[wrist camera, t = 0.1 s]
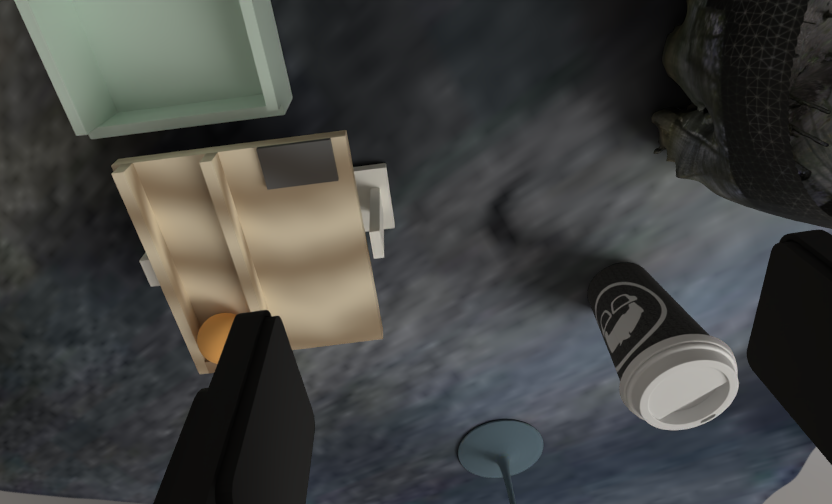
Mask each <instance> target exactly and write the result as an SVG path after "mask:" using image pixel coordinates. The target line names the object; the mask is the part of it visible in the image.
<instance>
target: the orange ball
mask: <svg viewBox="0 0 832 504" xmlns="http://www.w3.org/2000/svg"><path fill="white" fill-rule="evenodd" d="M235 316H236V315H235V314H232V313H220V314H216V315H214V316H212V317H210V318H208V319H207V320H206V321H205V322H204V323H203V324H202V326H201V327H200V329H199V332H198V336H197V344H198V348H199V350H200V352H201V354H202V355H203V356H204V357H205V358H206V359H207V360H209V361H210V362H212V363H215V364H218V361H219V358H220V356H221V353H222V350H223V348H224V345H225V342H226V339H227V337H228V334H229V331H230V329H231V326H232V323H233V320H234V318H235Z"/></svg>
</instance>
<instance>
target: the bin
mask: <svg viewBox="0 0 832 504" xmlns="http://www.w3.org/2000/svg"><path fill="white" fill-rule="evenodd" d="M14 1H15V3H16V5H17V8H18V10H19V12H20V14H21V16H22V19H23V21H24V23H25V25H26V27H27V29H28V32H29V34H30V36H31V38H32V40H33V42H34V45H35V47H36V49H37V51H38V53H39V56H40V58H41V60H42V62H43V64H44V66H45V69H46V71H47V73H48V75H49V77H50V80H51V82H52V84H53V86H54V88H55V90H56V93H57V95H58V97H59V99H60V101H61V104H62V106H63V108H64V110H65V112H66V114H67V117H68V119H69V121H70V123H71V125H72V128H73V130H74V132H75V134H76V136H80V135H89V137H90V139H98V138H106V137H114V136H122V135H130V134H137V133H145V132H153V131H161V130H169V129H177V128H185V127H192V126H200V125H208V124H216V123H224V122H232V121H240V120H247V119H255V118H263V117H271V116H279V115H285V113H286V111H287V109H288V107H289V105H290V103H291V101H292V98H293V97H292V92H291V88H290V84H289V79H288V75H287V71H286V66H285V62H284V58H283V53H282V49H281V45H280V40H279V36H278V32H277V27H276V23H275V19H274V14H273V10H272V6H271V1H270V0H14Z"/></svg>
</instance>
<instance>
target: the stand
mask: <svg viewBox="0 0 832 504" xmlns="http://www.w3.org/2000/svg"><path fill="white" fill-rule="evenodd" d="M353 170H354V175H355V181H356V186H357V191H358V197H359V202H360V208H361V213H362V219H363V224H364V229H365V232H366V231H369V234H370V240H371V245H372V251H373V256H374V259H376V258H384V229H390V228H395V222H394V215H393V209H392V202H391V195H390V189H389V182H388V175H387V169H386V163H382V164H374V165H366V166H358V167H353ZM140 264H141V266H142V268H143V270H144V272H145V275H146V277H147V279H148V281H149V284H150V286H151V287H152V286H160V283H159V281H158V279H157V276H156V274H155V272H154V270H153V267H152V265H151V263H150V261H149V258H148V256H147V254H146V252H145V254H144V255H143V256H142V258H141V259H140Z"/></svg>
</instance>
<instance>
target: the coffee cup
mask: <svg viewBox="0 0 832 504" xmlns="http://www.w3.org/2000/svg"><path fill="white" fill-rule="evenodd" d="M588 300H589V303H590V305H591V308H592V310H593V313H594V315H595V318H596V320H597V323H598V325H599V328H600V330H601V333H602V335H603V338H604V340H605V343H606V346H607V348H608V351H609V353H610V356H611V358H612V361H613V363H614V366H615V368H616V371H617V374H618V376H619V379H620V388H619V390H620V396H621V399H622V401H623V403H624V404H625V405H626V406H627V407H628V408H629V410H630V411H631V412H633V413H634V414H635V415H637V416H638V417H639V418H641V419H643V420H645V421H646V422H647V423H649V424H650V425H652V426H654V427H657V428H660V429H664V430H683V429H688V428H693V427H696V426H699V425H701V424H704V423H706V422H708V421H710V420H712V419H714V418H715V417H717V416H718V415H719V414H721V413H722V412H723V411H724V410H725V409H726V408H727V407H728V406H729V405H730V404H731V403H732V401H733V400H734V398H735V396H736V394H737V391H738V377H737V364H736V360H735V357H734V355H733V352H732V351H731V349H730V348H729V346H728V345H727V344H726V343H724V342H723V341H721V340H720V339H718V338H715V337H713V336H710V335H709V334H708V333H707V332H706V331H705V330H704V329H703V328H702V327H701V326H700V325H699V324H698V323H697V322H696V321H695V320H694V319H693V318H692V317H691V316H690V315H689V314H688V313H687V312H686V311H685V310H684V309H683V308H682V307H681V306H680V305H679V304H678V303H677V302H676V301H675V300H674V299H673V298H672V297H671V296H670V295H669V294H668V293H667V292H666V291H665V290H664V289H663V288H662V287H661V286H660V285H659V284H658V283H657V282H656V281H655V279H654V278H653V277H652V276H651V275H650V274H649V273H648V272H647V271H646V270H645V269H644V268H642V267H641V266H639V265H637V264H633V263H618V264H614V265H612V266H609V267H607V268H605V269H604V270H602V271H601V272H599V273H598V274H597V275H596V276H595V277H594V279H593V280H592V281H591V283H590V285H589V288H588Z"/></svg>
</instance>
